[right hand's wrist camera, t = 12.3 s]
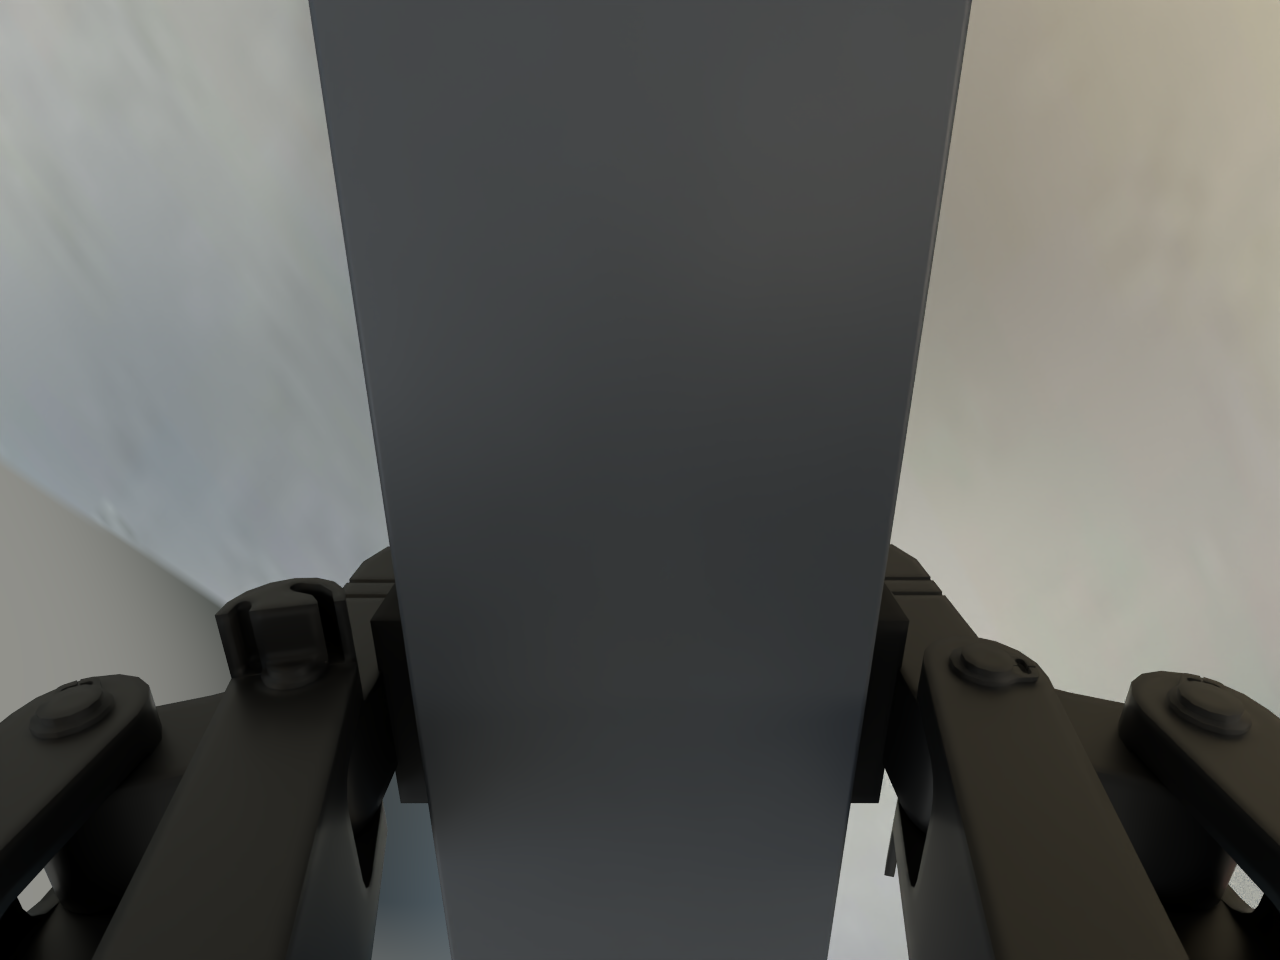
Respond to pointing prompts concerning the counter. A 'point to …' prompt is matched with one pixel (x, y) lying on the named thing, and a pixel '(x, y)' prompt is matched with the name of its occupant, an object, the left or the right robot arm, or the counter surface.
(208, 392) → the counter surface
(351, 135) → the beam
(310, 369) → the counter surface
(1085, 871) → the right robot arm
